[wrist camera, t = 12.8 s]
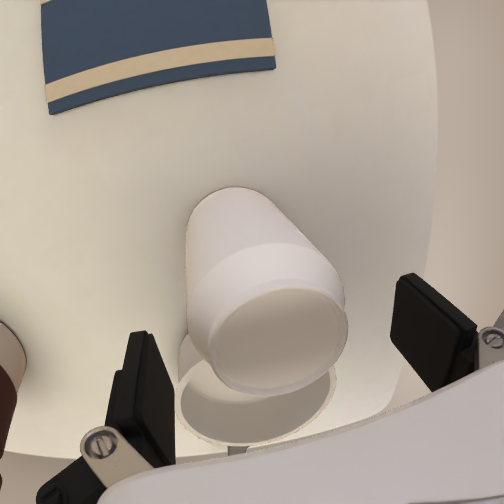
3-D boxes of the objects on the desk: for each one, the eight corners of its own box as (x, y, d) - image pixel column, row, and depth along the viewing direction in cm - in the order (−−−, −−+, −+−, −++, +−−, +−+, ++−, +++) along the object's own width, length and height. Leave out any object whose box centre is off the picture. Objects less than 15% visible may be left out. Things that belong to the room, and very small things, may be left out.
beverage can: (296, 227, 22) (391, 329, 11) (233, 288, 23) (274, 425, 12) (232, 163, 20) (291, 223, 9) (165, 234, 21) (150, 360, 10)
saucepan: (167, 445, 29) (169, 488, 24) (179, 284, 22) (178, 333, 17) (270, 444, 32) (282, 484, 27) (328, 297, 25) (359, 339, 20)
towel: (252, -57, 14) (255, -63, 13) (273, 69, 18) (277, 68, 17) (45, -15, 12) (40, -19, 11) (53, 115, 16) (48, 115, 15)
